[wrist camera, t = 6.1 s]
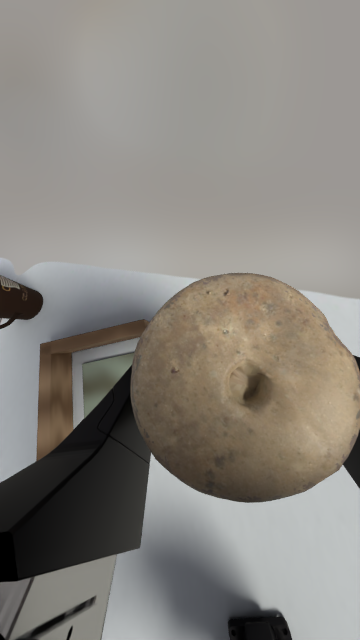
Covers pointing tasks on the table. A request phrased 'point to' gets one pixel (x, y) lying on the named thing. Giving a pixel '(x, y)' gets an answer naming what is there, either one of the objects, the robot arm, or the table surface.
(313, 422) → the carving
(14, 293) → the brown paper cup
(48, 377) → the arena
